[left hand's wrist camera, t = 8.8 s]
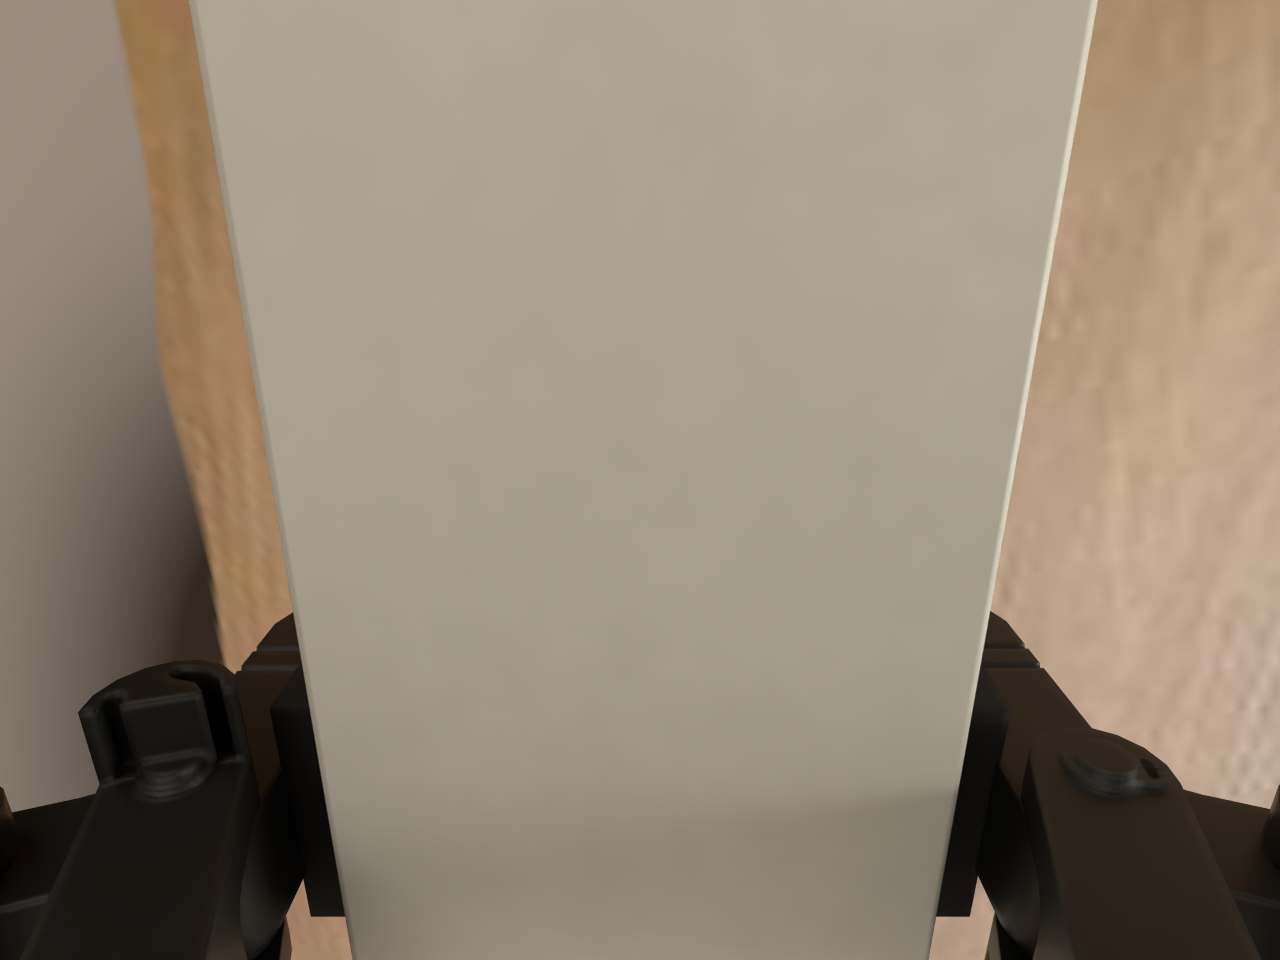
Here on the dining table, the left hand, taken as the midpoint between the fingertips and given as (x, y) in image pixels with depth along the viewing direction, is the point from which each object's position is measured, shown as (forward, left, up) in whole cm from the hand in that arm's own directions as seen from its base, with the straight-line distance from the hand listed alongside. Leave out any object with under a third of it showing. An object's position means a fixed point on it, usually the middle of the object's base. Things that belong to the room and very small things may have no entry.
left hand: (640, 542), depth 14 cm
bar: (+20, +4, -1) cm, 20 cm away
